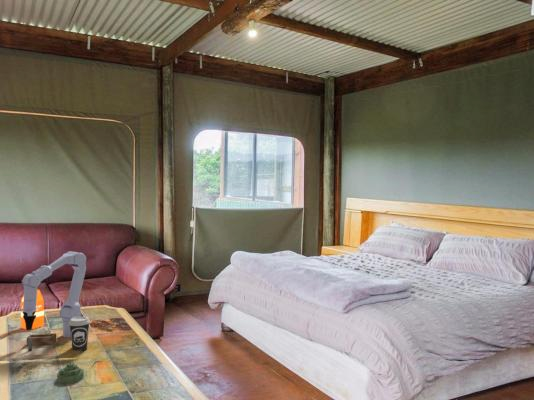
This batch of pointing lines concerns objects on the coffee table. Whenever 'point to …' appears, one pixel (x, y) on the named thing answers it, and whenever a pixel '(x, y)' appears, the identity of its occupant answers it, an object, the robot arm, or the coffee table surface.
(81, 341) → the coffee cup
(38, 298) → the orange juice
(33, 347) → the birch board
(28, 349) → the peg
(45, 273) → the robot arm
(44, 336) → the walnut link
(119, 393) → the coffee table surface
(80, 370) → the decorative artifact
